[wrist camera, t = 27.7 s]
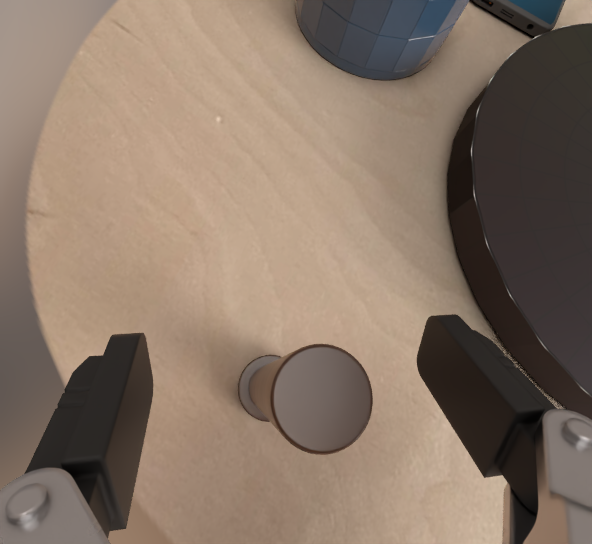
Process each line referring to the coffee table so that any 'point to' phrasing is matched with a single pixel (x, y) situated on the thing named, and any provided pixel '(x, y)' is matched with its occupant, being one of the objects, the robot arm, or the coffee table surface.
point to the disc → (532, 209)
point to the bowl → (378, 33)
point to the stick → (310, 396)
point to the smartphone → (526, 13)
